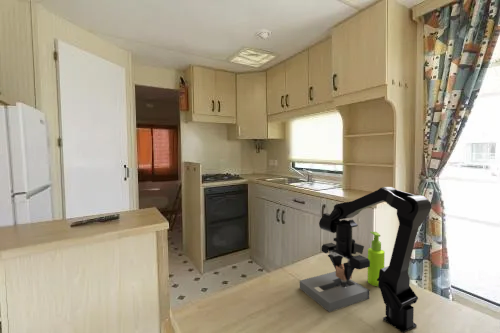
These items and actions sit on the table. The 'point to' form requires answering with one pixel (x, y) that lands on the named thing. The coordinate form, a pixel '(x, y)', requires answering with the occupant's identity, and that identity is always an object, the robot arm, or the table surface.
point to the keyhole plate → (333, 291)
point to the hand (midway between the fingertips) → (343, 277)
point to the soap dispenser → (375, 260)
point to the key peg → (341, 275)
